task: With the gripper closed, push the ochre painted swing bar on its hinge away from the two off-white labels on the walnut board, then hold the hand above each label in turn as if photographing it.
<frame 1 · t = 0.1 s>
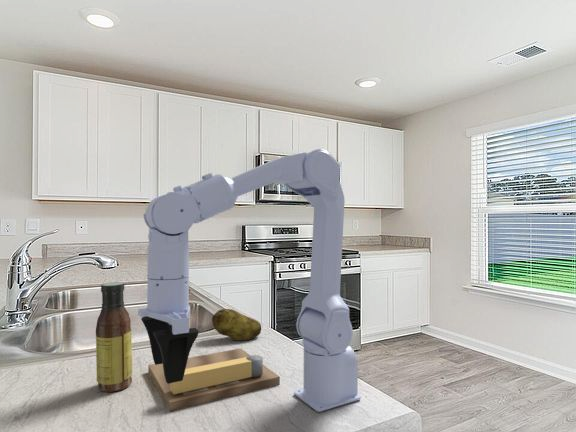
hand: (167, 371, 54), 10 cm above the worktop, fingers open, 7 cm apart
sauce bottle: (113, 387, 72), on the worktop
label board: (211, 378, 76), on the worktop
swing bar: (219, 372, 71), point 3 cm above the worktop, hinge at 0.0°
potato: (236, 339, 102), on the worktop
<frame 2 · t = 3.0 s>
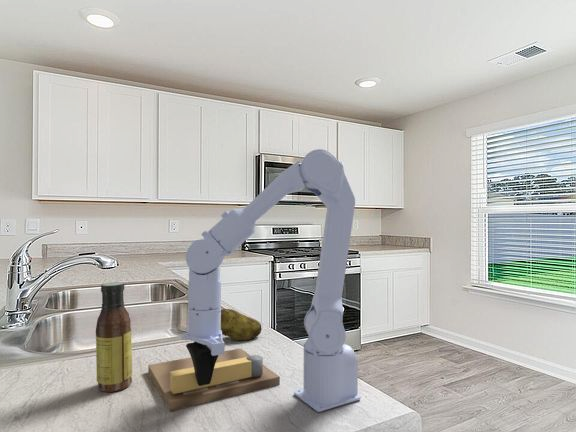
hand: (203, 383, 67), 3 cm above the worktop, fingers closed
swing bar: (219, 372, 71), point 3 cm above the worktop, hinge at 0.6°, touching gripper
everything else where it was.
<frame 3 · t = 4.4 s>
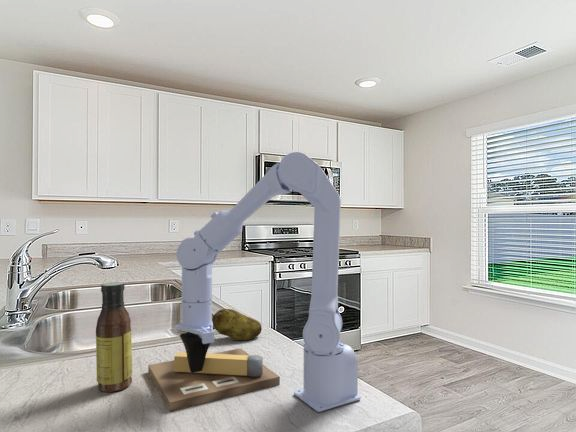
hand: (196, 370, 73), 3 cm above the worktop, fingers closed
swing bar: (219, 363, 75), point 3 cm above the worktop, hinge at 37.9°, touching gripper
everything else where it was.
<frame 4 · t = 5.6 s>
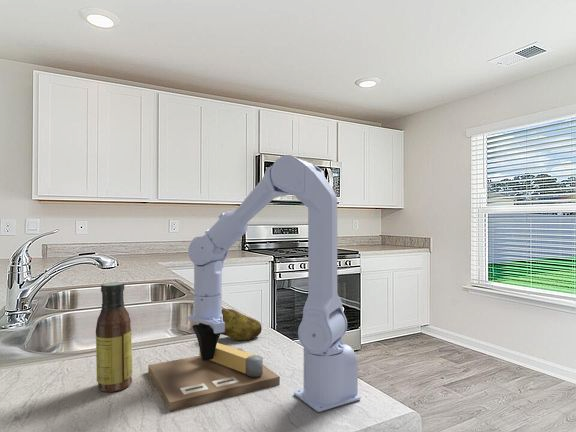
hand: (207, 359, 79), 3 cm above the worktop, fingers closed
swing bar: (230, 357, 79), point 3 cm above the worktop, hinge at 70.7°, touching gripper
everything else where it was.
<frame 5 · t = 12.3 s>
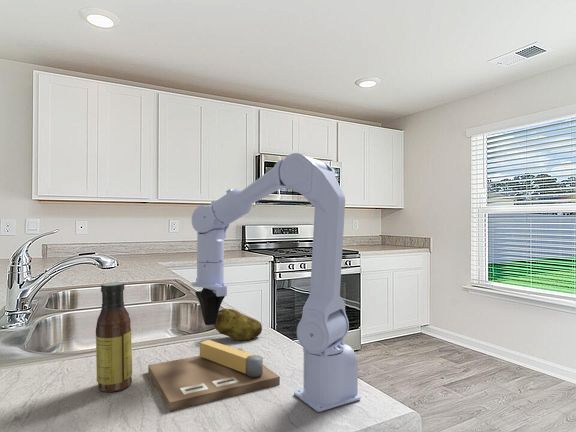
hand: (210, 324, 82), 9 cm above the worktop, fingers closed
swing bar: (230, 357, 79), point 3 cm above the worktop, hinge at 70.9°
everything else where it was.
at the end: swing bar at +71° (first picture: +0°) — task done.
